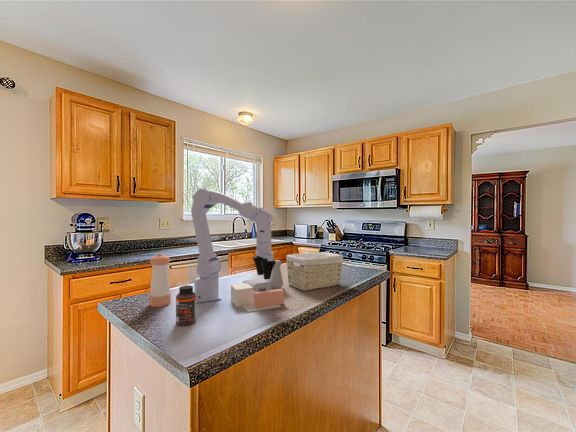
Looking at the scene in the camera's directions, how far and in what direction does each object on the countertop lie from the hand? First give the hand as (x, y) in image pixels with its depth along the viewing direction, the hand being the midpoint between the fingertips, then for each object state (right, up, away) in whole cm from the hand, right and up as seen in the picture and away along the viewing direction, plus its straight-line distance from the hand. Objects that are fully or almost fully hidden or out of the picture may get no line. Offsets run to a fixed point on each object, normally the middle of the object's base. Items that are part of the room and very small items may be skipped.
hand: (263, 276), depth 106 cm
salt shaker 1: (-39, -10, -2) cm, 41 cm away
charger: (-6, -10, +17) cm, 21 cm away
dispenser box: (-8, -10, -1) cm, 13 cm away
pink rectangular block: (+2, -9, -5) cm, 11 cm away
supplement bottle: (-23, -10, -20) cm, 32 cm away
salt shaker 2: (+4, -10, +18) cm, 21 cm away
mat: (0, -10, -6) cm, 11 cm away
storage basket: (+22, -10, +25) cm, 35 cm away
